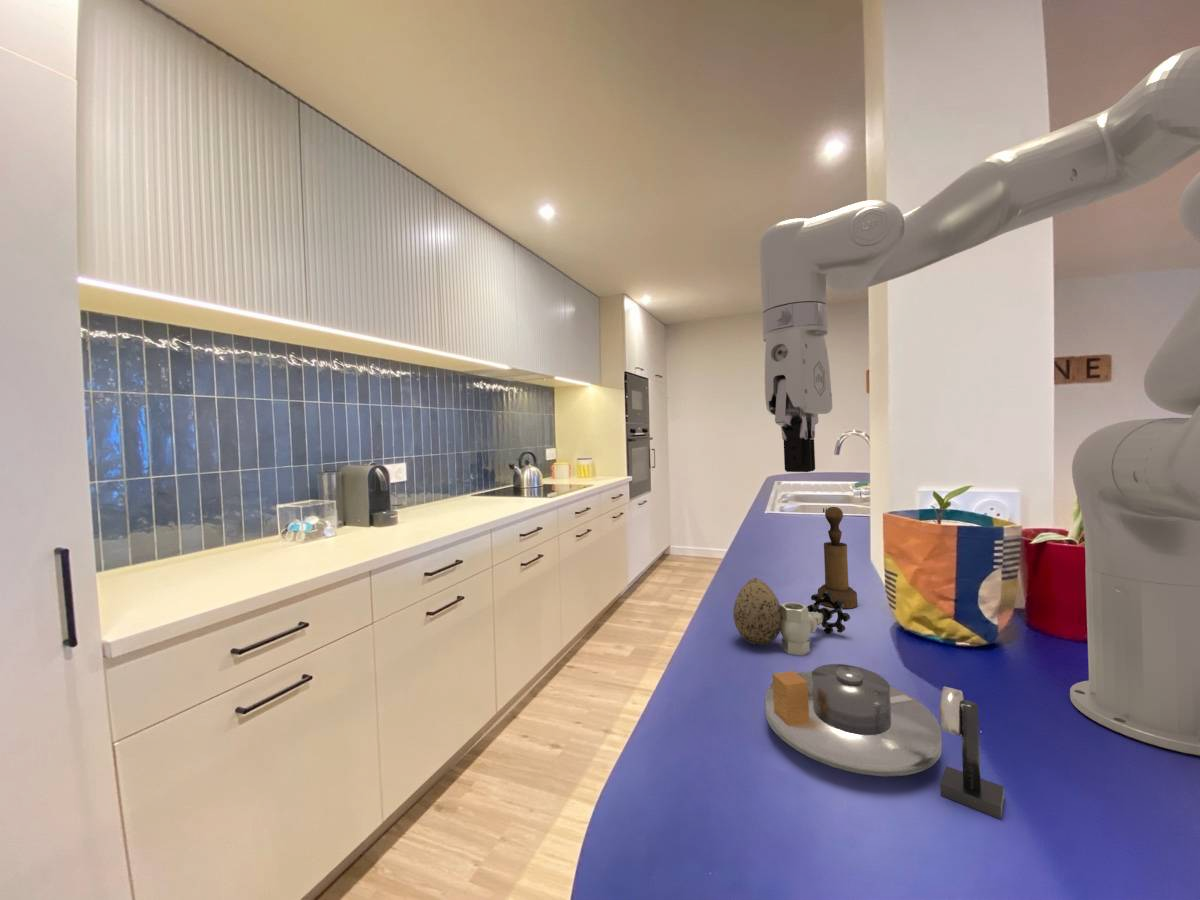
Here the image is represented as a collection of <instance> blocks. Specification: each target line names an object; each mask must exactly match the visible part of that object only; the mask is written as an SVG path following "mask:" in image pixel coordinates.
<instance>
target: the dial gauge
mask: <svg viewBox="0 0 1200 900" xmlns="http://www.w3.org/2000/svg"><path fill="white" fill-rule="evenodd" d="M939 702H940V704H939V720H940V721H939V723H940V724H939V725H940V729H941V731H944V732H946V733H949V734H952V735H956V736H959V737H961V762H962V766H961V767H962V770H959V769H956V768H954V767H952V766H948V765H946V766H945V769H944V771H943V775H942V777H941V781H940V783H939V785H940V787H939V789H940V796H942V797H945V798H947V799H949V800H951V801H954V802H957V803H958V804H959V803H960V804H962V805H963V806H967V807H969V808H971V809H974V810H977V811H978V812H981V813H984V814H987V815H990V816H992V817H995V818H997V819H1000V820H1002V815H1003V810H1004V803H1005V786H1004V785H1000V784H998V783H995V782H992V781H989V780H987V779H984V778H981V756H980V754H981V753H980V752H981V751H980V733H979V732H980V728H979V726H980V724H979V723H980V722H979V705H978V704H977V703H975V702H974V701H970V700H967V699H965V700H964V695H963V691H962V690H960V689H956V688H953V687H949V686H948V687H947V686H942V689H941V695H940V701H939Z"/></svg>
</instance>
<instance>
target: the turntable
mask: <svg viewBox="0 0 1200 900" xmlns="http://www.w3.org/2000/svg"><path fill="white" fill-rule="evenodd" d="M812 672H813V670H811V671H809V670H808V671H802V672H796V671H795V670H791V671H783V672H777V673H776V672H775V673H772V683H771V684H769V686H768V687H767V689H766V691H765V695H764V696H765V697H764V700H765V701H764V703H765V717H766V719H767V720H766V721H767V722H768V724H769V726H770V727H771V729H772V730H773V732H775V734H776V736H778V737H779V738H780V739H781V740H782V741H783V742H784V743H786V744H787V745H789V746H790V747H791V748H793V749H794V750H796V751H797V752H799V753H800V754H802V755H804V756H806V757H809V758H811V759H813V760H814V761H817V762H819V763H822V764H824V765H827V766H829V767H832V768H836V769H839V770H843V771H847V772H850V773H856V774H861V775H866V776H867V775H868V776H874V777H876V776H877V777H878V776H879V777H901V776H908V775H913V774H916V773H917V774H918V773H920V772H923V771H925V770H927V769H929V768H931V767H932V766H934V765H935V764H936V763H937V762H938V760H939V759H940V757H941V754H942V729H941V724H939V723H940V722H939V721H938V719H937V718H936V717H935V715H934V714H933V713H932V711H930V710H929V708H927V707H926V706H925V705H924V704H923V703H921V702H920V701H919V700H917V699H916V698H915V697H913V696H912V695H909V694H907V693H906V692H904V691H902V690H900V689H898V688H895V687H893V686H891V685H889V686H890V705H891V727H890V728H889V729H888V730H887V731H886V732H884V733H881V734H877V735H858V734H852V733H848V732H844V731H841V730H838V729H836V728H833V727H831V726H829V725H828V724H826V723H824V722H823V721H822V720H820V719H819V718H818V717H817V715H816V714H815V712H814V710H813V689H812Z"/></svg>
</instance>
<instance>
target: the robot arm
mask: <svg viewBox="0 0 1200 900" xmlns="http://www.w3.org/2000/svg"><path fill="white" fill-rule="evenodd" d="M1199 151H1200V45H1197V46H1193V47H1190V48H1188V49H1185V50H1182V51H1180V52H1178V53H1175V54H1174V55H1172V56H1170V57H1169V58H1167V59H1165V60H1164V61H1162V62H1161V63H1160V64H1159V65H1157V66H1156V67H1154V68H1153V69H1152V70H1151V71H1150V72H1149V73H1148V74H1147V75H1146V76H1145V77H1143V78H1142V79H1141V80H1140V81H1139V82H1138V83H1137V84H1136V85H1134V87H1133V88H1132V89H1130V90H1129V91H1128V93H1126V94H1125V95H1124V96H1123V97H1122V98H1121V99H1119V100H1118V101H1117V102H1116V103H1115V104H1114V105H1112V106H1110V107H1108V108H1107V109H1105V110H1103V111H1100V112H1098V113H1096V114H1094V115H1091V116H1089V117H1085V118H1083V119H1081V120H1077V121H1076V122H1073V123H1071V124H1068V125H1066V126H1064V127H1061V128H1059V129H1056V130H1054V131H1051V132H1048V133H1045V134H1043V135H1040V136H1038V137H1035V138H1033V139H1030V140H1026V141H1024V142H1021V143H1019V144H1016V145H1013V146H1011V147H1007V148H1005V149H1002V150H1000V151H998V152H995V153H993V154H991V155H990V156H988V157H986V158H984V159H982V160H981V161H979V162H978V163H976V164H975V165H974V166H972V167H971V168H969V169H968V170H967V171H965V172H963V173H962V174H961V175H960V176H958V177H957V178H956V179H955V180H953V181H952V182H951V183H950V184H949V185H948V186H946V187H945V188H943V189H942V190H941V191H940V192H938V193H937V194H936V195H934V196H933V197H932V198H930V199H928V200H927V201H925V202H923V203H922V204H920V205H919V206H917V207H915V208H914V209H912V210H911V211H909V212H906V213H904V214H903V213H902V211H901V209H900V208H898V206H897V205H895V204H894V203H892V202H889V201H887V200H883V199H867V200H863V201H862V200H861V201H857V202H855V203H852V204H849V205H844V206H843V207H840V208H837V209H835V210H832V211H829V212H826V213H822V214H819V215H816V216H813V217H810V218H809V217H796V218H790V219H786V220H783V221H779V222H777V223H775V224H774V225H771V226H770V227H769V228H768V229H766V230H765V231H764V232H763V234H762V235H761V238H760V240H759V264H760V265H759V266H760V268H759V269H760V288H761V290H760V292H761V314H762V316H761V319H762V321H761V322H762V340H763V342H764V343H765V352H764V355H765V356H764V397H765V406H766V410H767V411H768V412H769V413H770V414H771V415H773V416H774V423H775V425H778V426H779V427H780V430H781V438H782V440H783V456H784V457H783V459H784V471H785V472H787V473H811V472H813V471H815V470H816V456H815V455H816V454H815V453H816V450H815V438H816V437H815V435H816V425H817V424H818V423H819V414H820V415H827V414H829V413H830V412H831V411H832V410H833V393H832V383H831V381H832V380H831V372H830V364H829V363H830V362H829V355H828V348H827V344H826V340H825V336H827V335H828V333H829V332H828V331H829V329H828V302H827V301H828V300H827V297H828V296H827V286H828V287H830V288H831V289H833V290H836V291H840V292H855V291H860V290H865V289H867V288H870V287H874V286H877V285H879V284H882V283H883V284H884V283H886V282H888V281H892V280H895V279H897V278H901V277H904V276H906V275H909V274H912V273H914V272H917V271H920V270H922V269H924V268H927V267H929V266H931V265H933V264H936V263H939V262H940V261H943V260H945V259H948V258H950V257H952V256H955V255H957V254H960V253H963V252H966V251H967V250H970V249H973V248H976V247H977V246H979V245H982V244H984V243H986V242H988V241H991V240H993V239H994V238H996V237H998V236H1001V235H1003V234H1007V233H1010V232H1011V231H1015V230H1018V229H1020V228H1024V227H1025V226H1030V225H1031V224H1035V223H1038V222H1040V221H1043V220H1045V219H1046V220H1047V219H1050V218H1052V217H1053V218H1054V217H1055V216H1058V215H1061V214H1065V213H1066V212H1069V211H1072V210H1076V209H1079V208H1082V207H1085V206H1087V205H1090V204H1093V203H1096V202H1100V201H1102V200H1105V199H1108V198H1111V197H1114V196H1117V195H1120V194H1123V193H1125V192H1129V191H1131V190H1133V189H1136V188H1138V187H1141V186H1143V185H1145V184H1147V183H1149V182H1151V181H1153V180H1155V179H1157V178H1159V177H1161V176H1162V175H1164V174H1165V173H1167V172H1168V171H1170V170H1171V169H1173V168H1175V167H1176V166H1178V165H1179V164H1181V163H1183V162H1184V161H1185V160H1187V159H1189V158H1190V157H1192V156H1193V155H1194V154H1196V153H1198V152H1199ZM1178 213H1179V218H1180V221H1181V224H1182V225H1183V227H1184V228H1185V229H1186V232H1188V234H1190V236H1191V237H1192V238H1193V240H1195V242H1196V243H1197V245H1199V247H1200V171H1199V172H1198V173H1197V174H1195V176H1194V177H1193V178H1192V179H1190V181H1189V182H1188V183H1187V184H1186V186H1185V188H1184V190H1183V192H1182V193H1181V195H1180V198H1179V204H1178ZM1143 388H1144V393H1145V395H1146V396H1147V398H1148V400H1150V401H1151V402H1152V403H1153V404H1155V405H1156V406H1157V407H1159V408H1160V409H1163V410H1166V411H1168V412H1171V413H1175V414H1180V415H1187V416H1190V417H1169V418H1168V417H1165V418H1162V417H1161V418H1147V419H1146V418H1145V419H1144V418H1143V419H1142V418H1141V419H1134V420H1133V419H1132V420H1126V421H1120V422H1117V423H1113V424H1110V425H1107V426H1104V427H1102V428H1100V429H1097V430H1096V431H1094V432H1092V433H1091V434H1090V435H1088V436H1087V437H1086V438H1085V439H1084V440H1083V441H1082V442H1081V443H1080V444H1079V446H1078V447H1077V449H1076V451H1075V453H1074V454H1073V458H1072V464H1071V475H1072V483H1073V486H1074V491H1075V494H1076V495H1075V496H1076V498H1077V501H1078V505H1079V509H1080V515H1081V521H1082V526H1083V537H1084V550H1085V551H1084V552H1085V553H1084V554H1085V558H1084V559H1085V565H1084V566H1085V569H1084V570H1085V599H1086V626H1087V659H1088V680H1083V681H1080V682H1076V683H1074V684H1073V685H1071V687H1070V689H1069V691H1070V692H1069V699H1070V700H1071V701H1070V702H1071V704H1072V705H1074V707H1075V708H1076V709H1077V710H1078V711H1080V713H1082V714H1083V715H1084V716H1086V717H1088V718H1089V719H1091V720H1092V721H1095V722H1096V723H1098V724H1100V725H1101V726H1104V727H1106V728H1108V729H1110V730H1112V731H1114V732H1117V733H1119V734H1122V735H1124V736H1126V737H1128V738H1131V739H1135V740H1137V741H1140V742H1143V743H1146V744H1150V745H1153V746H1155V747H1156V746H1157V747H1159V748H1162V749H1167V750H1171V751H1176V752H1179V753H1183V754H1187V755H1188V754H1189V755H1195V756H1199V757H1200V287H1198V289H1197V291H1196V292H1195V295H1194V296H1193V299H1192V300H1191V301H1190V302H1189V304H1188V305H1187V307H1186V309H1185V310H1184V312H1183V314H1182V315H1181V316H1180V317H1179V319H1178V321H1177V322H1176V323H1175V325H1174V326H1173V328H1172V330H1171V331H1170V332H1169V334H1168V335H1167V337H1166V339H1165V340H1164V342H1163V343H1162V344H1161V346H1160V347H1159V349H1158V350H1157V352H1156V353H1155V354H1154V356H1153V358H1152V359H1151V361H1150V363H1149V364H1148V366H1147V368H1146V371H1145V374H1144V376H1143Z"/></svg>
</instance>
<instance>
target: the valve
mask: <svg viewBox="0 0 1200 900" xmlns="http://www.w3.org/2000/svg"><path fill="white" fill-rule="evenodd" d="M822 596H824V598H820V595H819V594H818V593H814V594H812V595H811V596H810V599H811V601H814V602H813V603H812V604H809V605H807V606H806V605H805V604H803V603H800V602H790V601H789V602H784V603H782V604H781V605H780V611H781V616H782V619H781V624H780V634H781V649H784V650H783V651H784V652H786V653H787V654H790V655H796V656H805V655H806V654H808V653H810V652H811V650H810V649H811V648H810V640H809V638H810V635H811V634H812V633H814V632H815V631H817V629H818V626H819V625H821V627H822V628H824V629H823V633H825V634H827V635H830V634H832V633H834V628H836V629H837V630H836V632H837V633H840V634H842V633H844V632H845V631H846V626H845V625H844V624H843V623H842V622H844V623H846V622H849V621H850V619H851V616H850V614H849V613H848V612H843V609H841V607H843V606H844V601H843V600H841V599H839V600H837V601H833V600H832V594H831V593H830V592H825V593H823V594H822ZM822 602H826V603H829V604H831V605H832V606H833V607H828V606H825V607H820V605H822V604H821V603H822ZM832 608H833V609H832ZM836 613H837V619H836V621H835V622H828V621H830V620H832V618H833V617H834V614H836Z"/></svg>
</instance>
